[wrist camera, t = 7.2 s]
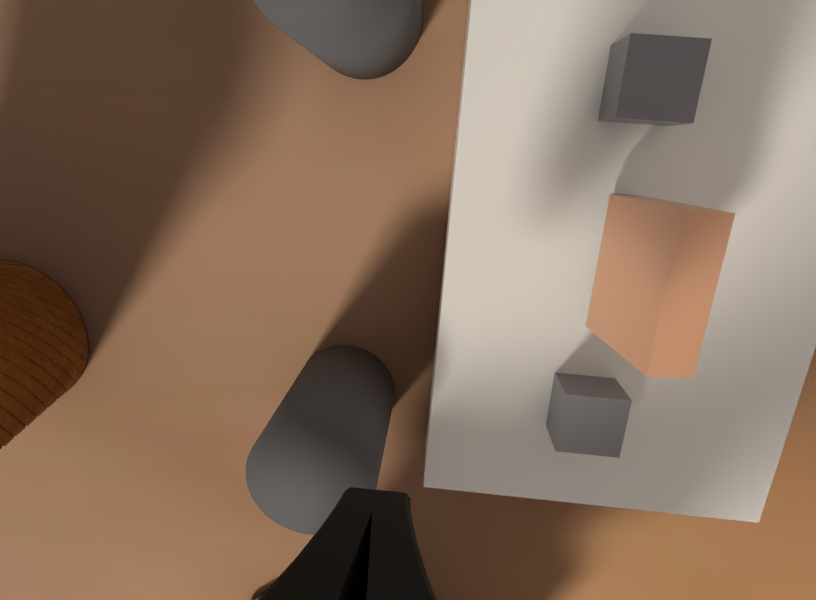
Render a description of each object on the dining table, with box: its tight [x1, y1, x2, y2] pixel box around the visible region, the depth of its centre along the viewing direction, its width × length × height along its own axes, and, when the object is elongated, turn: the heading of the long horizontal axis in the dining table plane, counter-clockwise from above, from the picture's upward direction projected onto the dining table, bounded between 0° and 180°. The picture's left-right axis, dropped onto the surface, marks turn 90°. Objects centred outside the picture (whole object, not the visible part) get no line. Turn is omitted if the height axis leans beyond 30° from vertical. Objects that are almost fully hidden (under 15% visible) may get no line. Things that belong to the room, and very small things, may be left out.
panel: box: [423, 0, 816, 523], centre depth 17 cm, size 12×18×5 cm, turn 176°
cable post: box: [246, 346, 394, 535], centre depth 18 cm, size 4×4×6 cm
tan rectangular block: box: [586, 193, 735, 378], centre depth 14 cm, size 1×4×4 cm, turn 175°
